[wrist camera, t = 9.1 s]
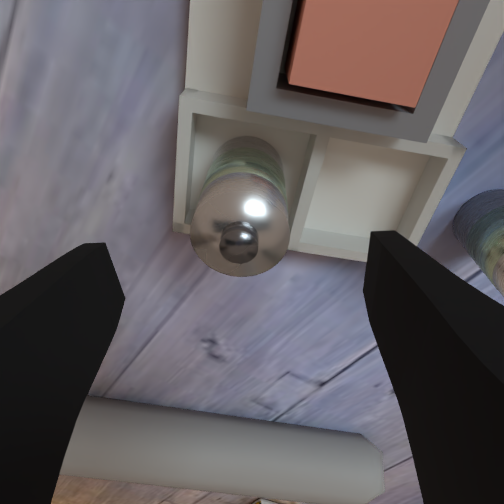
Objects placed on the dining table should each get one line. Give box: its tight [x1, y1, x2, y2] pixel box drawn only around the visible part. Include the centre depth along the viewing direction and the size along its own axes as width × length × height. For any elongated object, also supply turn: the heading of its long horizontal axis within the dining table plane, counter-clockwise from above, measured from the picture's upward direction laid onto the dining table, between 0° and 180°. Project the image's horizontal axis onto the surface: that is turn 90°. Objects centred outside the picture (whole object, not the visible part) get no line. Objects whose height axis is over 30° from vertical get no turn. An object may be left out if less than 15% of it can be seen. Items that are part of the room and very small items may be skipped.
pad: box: [285, 0, 459, 108], centre depth 11 cm, size 4×4×3 cm
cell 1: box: [190, 136, 290, 277], centre depth 14 cm, size 3×3×6 cm
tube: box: [59, 395, 385, 504], centre depth 27 cm, size 5×5×25 cm
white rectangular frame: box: [172, 0, 504, 262], centre depth 12 cm, size 11×18×4 cm, turn 170°
